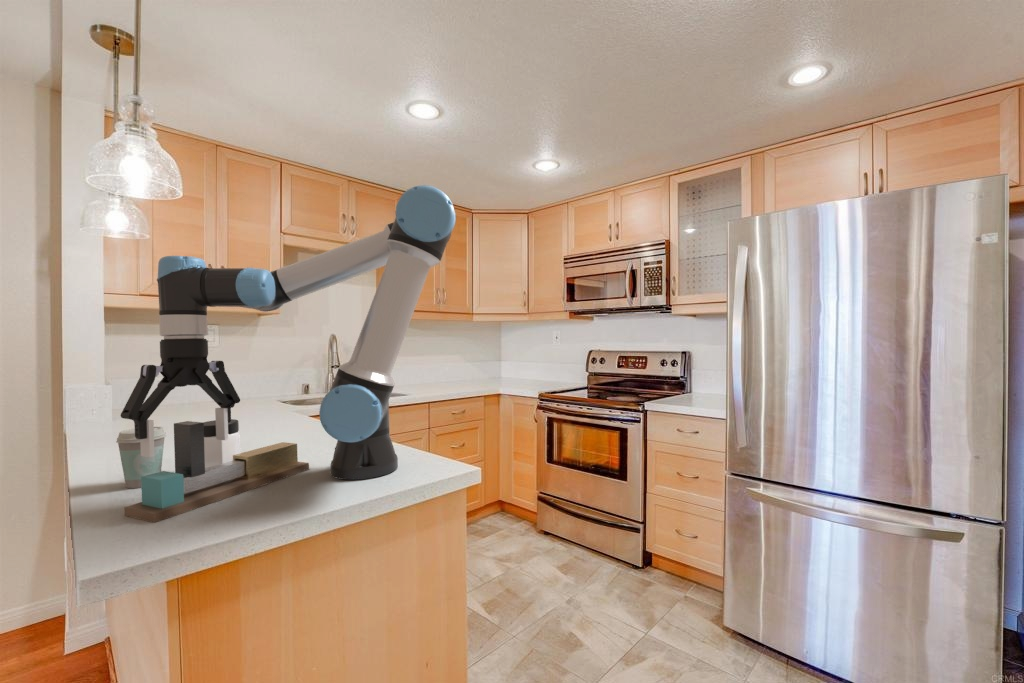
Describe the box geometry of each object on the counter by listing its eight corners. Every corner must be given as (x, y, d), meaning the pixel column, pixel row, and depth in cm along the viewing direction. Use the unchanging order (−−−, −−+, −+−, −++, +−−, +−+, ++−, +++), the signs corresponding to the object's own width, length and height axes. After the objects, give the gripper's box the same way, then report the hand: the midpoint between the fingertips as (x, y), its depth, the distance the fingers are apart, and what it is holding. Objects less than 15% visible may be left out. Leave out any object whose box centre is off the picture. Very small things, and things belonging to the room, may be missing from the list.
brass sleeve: (283, 461, 110) (282, 442, 110) (297, 463, 108) (297, 443, 108) (233, 477, 98) (232, 455, 98) (248, 479, 96) (247, 457, 96)
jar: (225, 466, 113) (223, 418, 112) (249, 468, 110) (247, 419, 110) (188, 476, 104) (187, 425, 104) (213, 480, 101) (212, 426, 101)
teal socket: (164, 497, 86) (163, 470, 86) (183, 501, 84) (183, 474, 84) (142, 504, 83) (141, 476, 83) (161, 508, 81) (160, 480, 80)
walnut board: (282, 465, 112) (282, 459, 112) (309, 469, 108) (308, 462, 108) (124, 515, 82) (124, 507, 82) (154, 522, 78) (154, 514, 78)
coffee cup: (126, 493, 94) (124, 435, 94) (111, 486, 98) (109, 431, 98) (174, 481, 101) (173, 428, 101) (158, 475, 106) (156, 424, 105)
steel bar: (248, 468, 102) (247, 410, 101) (264, 470, 100) (262, 411, 100) (147, 498, 83) (145, 428, 83) (164, 502, 81) (161, 430, 81)
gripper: (233, 337, 100) (236, 432, 100) (92, 339, 77) (97, 462, 78) (256, 336, 97) (259, 434, 97) (117, 338, 74) (122, 466, 75)
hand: (187, 447), depth 87 cm, fingers open, 13 cm apart
